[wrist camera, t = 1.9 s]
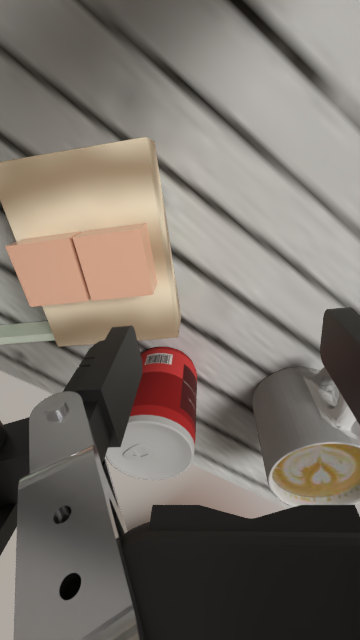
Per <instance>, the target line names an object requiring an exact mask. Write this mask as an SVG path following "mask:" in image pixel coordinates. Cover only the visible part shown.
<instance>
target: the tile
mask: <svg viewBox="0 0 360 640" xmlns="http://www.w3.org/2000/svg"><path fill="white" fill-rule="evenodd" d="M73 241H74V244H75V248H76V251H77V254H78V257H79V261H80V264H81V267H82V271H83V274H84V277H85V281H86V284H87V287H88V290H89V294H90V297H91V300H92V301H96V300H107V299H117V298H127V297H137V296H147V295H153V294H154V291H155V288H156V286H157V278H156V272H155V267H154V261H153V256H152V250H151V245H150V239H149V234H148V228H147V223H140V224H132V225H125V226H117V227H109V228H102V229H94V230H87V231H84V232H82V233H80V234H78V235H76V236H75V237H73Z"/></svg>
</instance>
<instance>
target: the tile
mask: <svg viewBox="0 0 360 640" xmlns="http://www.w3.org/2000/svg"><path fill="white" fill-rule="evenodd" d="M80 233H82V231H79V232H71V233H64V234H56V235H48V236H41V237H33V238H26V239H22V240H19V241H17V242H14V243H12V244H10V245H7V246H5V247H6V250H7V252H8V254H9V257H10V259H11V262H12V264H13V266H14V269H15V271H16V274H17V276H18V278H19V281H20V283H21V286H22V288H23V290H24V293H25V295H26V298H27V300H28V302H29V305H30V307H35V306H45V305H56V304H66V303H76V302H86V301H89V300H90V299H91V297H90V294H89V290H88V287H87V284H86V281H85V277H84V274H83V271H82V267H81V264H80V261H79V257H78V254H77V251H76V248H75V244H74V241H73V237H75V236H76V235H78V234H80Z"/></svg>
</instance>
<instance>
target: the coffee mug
mask: <svg viewBox="0 0 360 640" xmlns="http://www.w3.org/2000/svg"><path fill="white" fill-rule="evenodd" d="M252 406H253V411H254V416H255V421H256V426H257V431H258V436H259V441H260V446H261V451H262V456H263V461H264V466H265V471H266V476H267V481H268V484H269V488H270V489H271V491H272V493H273V494H274V495H275V496H276V497H277V498H278V499H279V500H280V501H282V502H284V503H286V504H287V505H290V506H292V507H296V506H299V505H355V504H357V503H359V502H360V425H359V423H358V422H357V420H356V418H355V417H354V415H353V413H352V412H351V410H350V408H349V407H348V405H347V403H346V402H345V400H344V398H343V397H342V395H341V393H340V392H339V390H338V388H337V387H336V385H335V383H334V382H333V380H332V378H331V376H330V375H329V373H328V371H327V370H326V368H325V367H324V368H323V369H322V370H321V371H319V370H316V369H312V368H307V367H292V368H286V369H283V370H280V371H277V372H275V373H273V374H271V375H269V376H268V377H266V378H265V379H264V380H262V382H261V383H260V384H259V385H258V386H257V387H256V389H255V391H254V394H253V397H252Z"/></svg>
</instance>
